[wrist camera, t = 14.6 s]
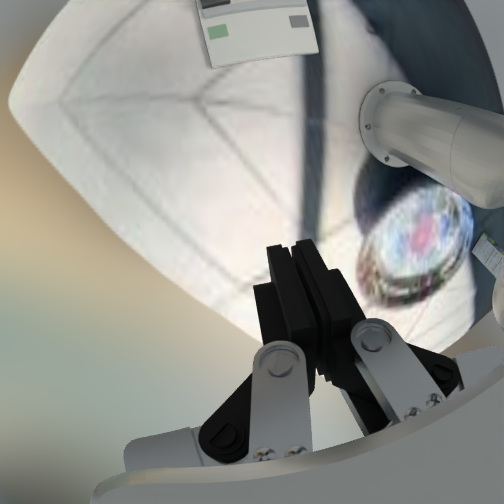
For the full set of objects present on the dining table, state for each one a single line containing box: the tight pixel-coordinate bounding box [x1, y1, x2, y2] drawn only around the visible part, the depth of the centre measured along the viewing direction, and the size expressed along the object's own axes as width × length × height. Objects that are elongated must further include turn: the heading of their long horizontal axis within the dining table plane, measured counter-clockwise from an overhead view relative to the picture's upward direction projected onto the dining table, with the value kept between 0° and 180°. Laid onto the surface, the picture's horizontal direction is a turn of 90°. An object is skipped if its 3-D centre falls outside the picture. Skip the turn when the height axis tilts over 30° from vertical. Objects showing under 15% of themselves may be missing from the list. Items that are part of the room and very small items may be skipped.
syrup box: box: [472, 233, 504, 278], centre depth 39 cm, size 6×6×14 cm
